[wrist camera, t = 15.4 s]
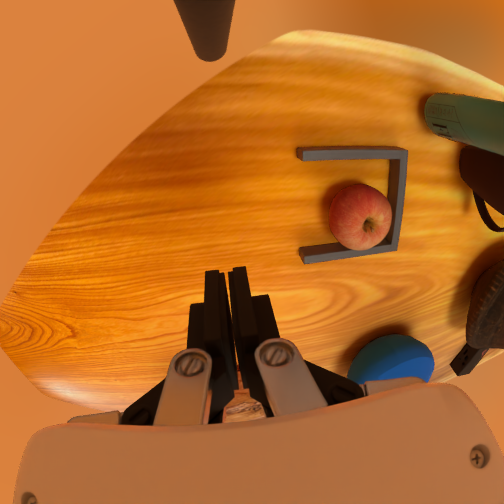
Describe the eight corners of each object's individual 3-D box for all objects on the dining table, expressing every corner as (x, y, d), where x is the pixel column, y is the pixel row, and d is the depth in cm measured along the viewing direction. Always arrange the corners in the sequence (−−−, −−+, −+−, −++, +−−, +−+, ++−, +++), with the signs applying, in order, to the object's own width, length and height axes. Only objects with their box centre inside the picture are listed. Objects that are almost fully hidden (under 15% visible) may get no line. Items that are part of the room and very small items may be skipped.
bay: (296, 147, 32) (302, 150, 30) (397, 146, 33) (408, 150, 30) (299, 255, 39) (304, 264, 36) (388, 242, 40) (397, 250, 37)
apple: (308, 222, 36) (330, 252, 30) (336, 167, 33) (366, 185, 26) (355, 241, 39) (382, 271, 32) (382, 192, 36) (416, 214, 29)
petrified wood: (260, 353, 47) (275, 405, 39) (275, 378, 55) (288, 421, 48) (160, 380, 47) (164, 430, 39) (190, 401, 56) (196, 443, 48)
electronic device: (449, 364, 63) (457, 376, 58) (470, 337, 58) (479, 348, 54) (461, 362, 64) (469, 373, 60) (481, 336, 60) (490, 347, 55)
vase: (428, 319, 50) (476, 385, 33) (387, 377, 58) (418, 440, 41) (361, 317, 46) (410, 405, 29) (322, 382, 54) (348, 460, 38)
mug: (486, 132, 32) (539, 150, 21) (482, 207, 39) (527, 236, 28) (450, 133, 32) (509, 152, 21) (448, 216, 39) (496, 251, 28)
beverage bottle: (410, 121, 31) (532, 156, 13) (424, 81, 28) (545, 97, 11) (439, 143, 33) (549, 188, 15) (452, 106, 30) (563, 135, 12)
